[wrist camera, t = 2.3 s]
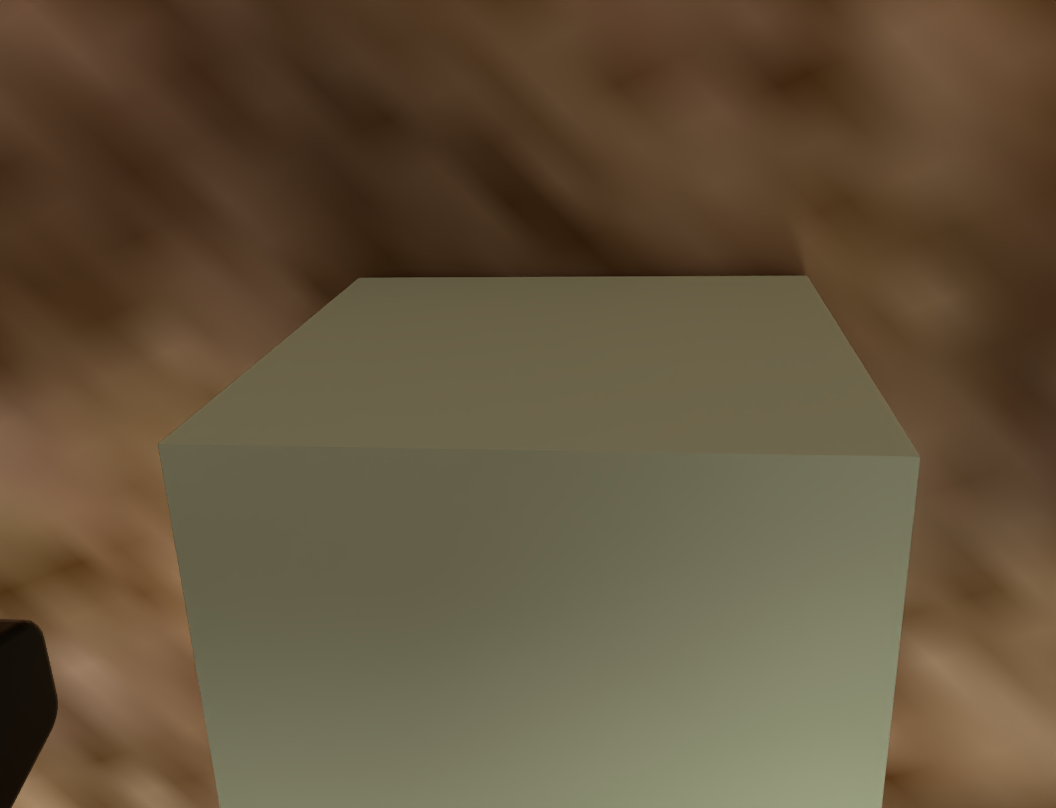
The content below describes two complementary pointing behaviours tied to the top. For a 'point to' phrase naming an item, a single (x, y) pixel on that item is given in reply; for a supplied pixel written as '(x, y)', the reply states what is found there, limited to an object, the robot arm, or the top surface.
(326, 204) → the top surface
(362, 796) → the cube
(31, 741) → the robot arm
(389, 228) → the top surface
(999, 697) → the top surface
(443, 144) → the top surface
